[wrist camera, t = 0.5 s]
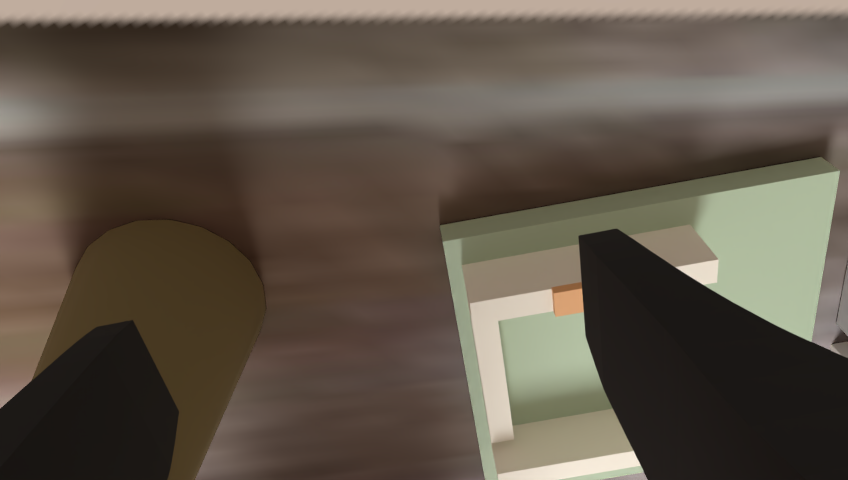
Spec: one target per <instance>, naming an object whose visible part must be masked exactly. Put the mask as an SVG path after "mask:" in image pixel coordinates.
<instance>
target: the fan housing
mask: <svg viewBox="0 0 848 480" xmlns="http://www.w3.org/2000/svg"><path fill="white" fill-rule="evenodd" d="M836 324H837V326H838V327H839V328H840V329H841V330H842V331H843V332H844V333H845V334H846V335H847V336H848V264H847V269H846V275H845V280H844V285H843V291H842V296H841V301H840V306H839V312H838V317H837V322H836Z"/></svg>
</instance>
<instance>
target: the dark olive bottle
mask: <svg viewBox="0 0 848 480" xmlns="http://www.w3.org/2000/svg"><path fill="white" fill-rule="evenodd" d="M265 311H266V302H265V295H264V288H263V284H262V282H261V280H260V278H259V277H258V275H257V273H256V271H255V269H254V267H253V266H252V264H251V262H250V261H249V260H248V259H247V258H246V257H245V256H244V255H243V254H242V253H241V252H240V251H239V250H237V249H236V248H235V247H234V246H233V245H232V244H231V243H230V242H229V241H227V240H225V239H223V238H221V237H219V236H218V235H216V234H214V233H212V232H210V231H208V230H206V229H204V228H202V227H200V226H195V225H191V224H187V223H182V222H178V221H174V220H138V221H134V222H131V223H128V224H125V225H122V226H119V227H116V228H113V229H110V230H108V231H107V232H106V233H104V234H103V235H102V236H101V237H99V238H98V239H97V240H95V241H94V242H93V243H92V244H90V245H89V246H88V247H87V249H86V251H85V252H84V254H83V256H82V258H81V259H80V261H79V263H78V265H77V267H76V268H75V271H74V274H73V276H72V279H71V281H70V284H69V286H68V289H67V292H66V294H65V297H64V299H63V302H62V304H61V307H60V310H59V312H58V315H57V317H56V320H55V322H54V325H53V328H52V330H51V333H50V335H49V338H48V340H47V343H46V345H45V348H44V351H43V353H42V356H41V358H40V361H39V363H38V366H37V369H36V371H35V374H34V376H33V379H34V378H36V377H37V376H38V375H39V374H40V373H41V372H42V371H43V370H45V369H46V368H47V367H48V366H49V365H50V364H51V363H52V362H54V361H55V360H56V359H57V358H58V357H59V356H60V355H62V354H63V353H64V352H65V351H66V350H67V349H69V348H70V347H71V346H72V345H73V344H75V343H76V342H77V341H78V340H79V339H81V338H82V337H83V336H84V335H86V334H87V333H89V332H90V331H91V330H93V329H94V328H95V327H98V326H103V325H109V324H114V323H119V322H124V321H130V320H133V321H134V323H135V325H136V327H137V329H138V331H139V333H140V335H141V337H142V339H143V341H144V343H145V345H146V347H147V349H148V351H149V353H150V355H151V357H152V359H153V361H154V363H155V365H156V367H157V369H158V371H159V373H160V375H161V377H162V378H163V380H164V382H165V384H166V386H167V388H168V390H169V392H170V394H171V396H172V398H173V400H174V402H175V404H176V406H177V408H178V410H179V416H178V424H177V431H176V439H175V446H174V451H173V457H172V463H171V469H170V472H169V476H168V479H167V480H195V478H196V476H197V473H198V471H199V469H200V467H201V464H202V462H203V460H204V458H205V455H206V453H207V451H208V448H209V446H210V444H211V442H212V439H213V437H214V435H215V433H216V430H217V428H218V426H219V423H220V421H221V419H222V417H223V414H224V412H225V410H226V408H227V405H228V403H229V401H230V398H231V396H232V394H233V392H234V389H235V387H236V385H237V383H238V380H239V378H240V376H241V373H242V371H243V369H244V367H245V364H246V362H247V360H248V358H249V355H250V353H251V351H252V349H253V346H254V344H255V342H256V339H257V337H258V335H259V333H260V330H261V327H262V323H263V319H264V315H265ZM33 379H32V380H33Z"/></svg>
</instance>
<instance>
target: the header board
mask: <svg viewBox="0 0 848 480" xmlns="http://www.w3.org/2000/svg"><path fill="white" fill-rule="evenodd" d="M839 174H840V170H838V169H837V168H836V167H834V166H833V165H831V164H830V163H829V162H827V161H826V160H824V159H823V158H822V157H818V158H812V159H807V160H801V161H796V162H790V163H785V164H779V165H773V166H768V167H762V168H757V169H751V170H746V171H740V172H734V173H729V174H723V175H718V176H712V177H707V178H701V179H695V180H690V181H684V182H679V183H673V184H668V185H662V186H656V187H651V188H645V189H640V190H634V191H629V192H623V193H617V194H612V195H606V196H601V197H595V198H590V199H584V200H578V201H573V202H567V203H562V204H556V205H551V206H545V207H539V208H534V209H528V210H523V211H517V212H512V213H506V214H500V215H495V216H489V217H484V218H478V219H472V220H467V221H461V222H456V223H450V224H445V225H440V230H441V236H442V241H443V247H444V253H445V258H446V264H447V270H448V275H449V281H450V286H451V292H452V298H453V303H454V309H455V314H456V320H457V326H458V331H459V337H460V342H461V348H462V354H463V359H464V365H465V370H466V376H467V382H468V387H469V393H470V399H471V404H472V410H473V415H474V421H475V427H476V432H477V438H478V443H479V449H480V455H481V460H482V466H483V471H484V477H485V480H601V479H607V478H613V477H619V476H624V475H630V474H636V473H642V472H644V471H643V469H642V467H641V465H640V463H639V461H638V459H637V457H636V455H635V453H634V451H633V449H632V447H631V445H630V443H629V441H628V439H627V437H626V435H625V433H624V431H623V429H622V427H621V424H620V422H619V420H618V418H617V416H616V414H615V412H614V410H613V408H612V406H611V404H610V402H609V400H608V398H607V396H606V394H605V391H604V389H603V386H602V383H601V381H600V378H599V375H598V372H597V369H596V366H595V363H594V360H593V357H592V354H591V351H590V348H589V345H588V342H587V339H586V336H585V322H584V309H583V295H582V281H581V267H580V253H579V239H578V236H579V235H584V234H590V233H595V232H600V231H606V230H611V229H616V228H617V229H619V230H620V231H622V232H623V233H625V234H627V235H628V236H630V237H631V238H632V239H634V240H635V241H637V242H638V243H640V244H641V245H643V246H644V247H646V248H647V249H649V250H650V251H652V252H653V253H655V254H656V255H658V256H659V257H661V258H662V259H664V260H665V261H667V262H668V263H670V264H671V265H673V266H674V267H676V268H677V269H679V270H680V271H682V272H684V273H685V274H687V275H688V276H690V277H691V278H693V279H695V280H696V281H698V282H700V283H701V284H703V285H704V286H706V287H708V288H709V289H711V290H713V291H714V292H716V293H718V294H720V295H721V296H723V297H725V298H726V299H728V300H730V301H732V302H733V303H735V304H737V305H739V306H741V307H743V308H744V309H746V310H748V311H750V312H752V313H754V314H756V315H757V316H759V317H761V318H763V319H765V320H767V321H769V322H770V323H772V324H774V325H776V326H778V327H780V328H782V329H785V330H787V331H789V332H791V333H793V334H795V335H797V336H799V337H801V338H804V339H806V340H808V341H810V342H811V340H812V334H813V329H814V323H815V317H816V311H817V305H818V299H819V293H820V287H821V281H822V275H823V269H824V263H825V257H826V251H827V245H828V239H829V233H830V227H831V221H832V215H833V209H834V204H835V198H836V192H837V186H838V180H839Z"/></svg>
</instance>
